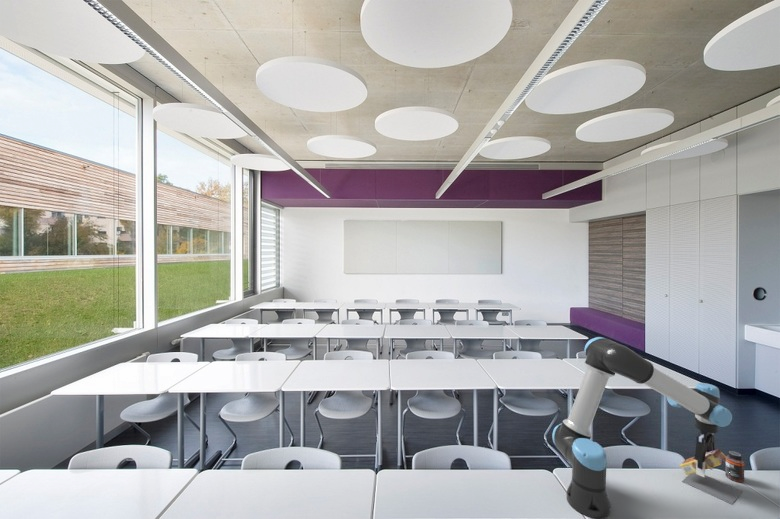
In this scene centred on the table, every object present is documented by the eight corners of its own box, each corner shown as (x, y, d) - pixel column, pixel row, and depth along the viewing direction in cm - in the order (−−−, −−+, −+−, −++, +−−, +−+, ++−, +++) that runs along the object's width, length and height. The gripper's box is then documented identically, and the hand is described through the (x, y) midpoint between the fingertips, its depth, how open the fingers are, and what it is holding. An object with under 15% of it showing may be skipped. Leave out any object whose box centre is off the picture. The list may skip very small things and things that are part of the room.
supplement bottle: (741, 477, 156) (742, 452, 155) (745, 484, 151) (747, 459, 150) (723, 472, 159) (724, 448, 159) (727, 479, 154) (728, 454, 154)
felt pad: (681, 481, 152) (681, 481, 152) (693, 471, 160) (693, 470, 160) (731, 504, 139) (731, 503, 139) (742, 491, 146) (742, 491, 146)
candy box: (687, 476, 153) (721, 465, 143) (678, 465, 155) (711, 454, 146) (694, 469, 157) (727, 458, 148) (686, 459, 160) (718, 447, 150)
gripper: (704, 411, 159) (702, 459, 160) (685, 423, 148) (683, 475, 148) (726, 417, 153) (724, 468, 154) (709, 431, 141) (706, 485, 142)
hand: (704, 471), depth 151 cm, fingers closed on candy box, 9 cm apart
